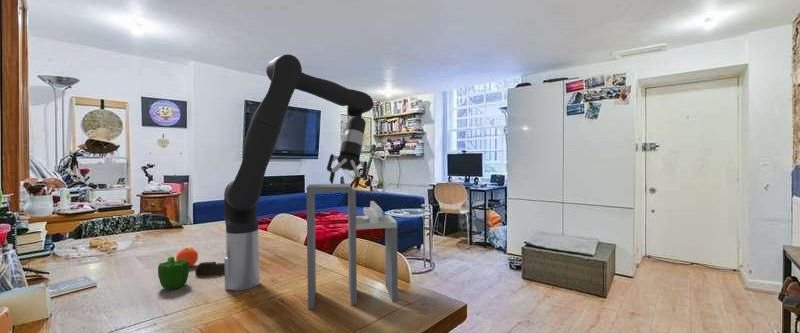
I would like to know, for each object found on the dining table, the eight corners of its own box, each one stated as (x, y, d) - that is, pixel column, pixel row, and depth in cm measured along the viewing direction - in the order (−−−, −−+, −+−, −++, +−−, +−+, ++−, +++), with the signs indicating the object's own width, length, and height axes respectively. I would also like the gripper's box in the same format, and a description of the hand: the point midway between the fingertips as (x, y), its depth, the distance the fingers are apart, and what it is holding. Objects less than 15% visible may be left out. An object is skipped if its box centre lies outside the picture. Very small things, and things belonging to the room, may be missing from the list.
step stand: (308, 309, 91) (306, 187, 90) (310, 292, 103) (309, 184, 102) (397, 301, 96) (396, 185, 95) (390, 285, 107) (389, 182, 107)
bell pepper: (173, 281, 112) (173, 251, 112) (195, 283, 111) (194, 252, 110) (150, 291, 104) (149, 258, 104) (173, 293, 102) (172, 259, 102)
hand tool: (256, 269, 125) (256, 256, 125) (255, 272, 121) (254, 259, 121) (198, 274, 120) (197, 261, 120) (194, 278, 116) (194, 264, 116)
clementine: (183, 263, 132) (183, 244, 132) (203, 262, 133) (202, 244, 132) (172, 270, 124) (171, 250, 124) (192, 269, 125) (192, 249, 124)
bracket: (369, 223, 94) (369, 210, 94) (363, 212, 113) (363, 201, 113) (382, 222, 94) (382, 209, 94) (373, 211, 114) (373, 201, 114)
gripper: (333, 136, 125) (323, 179, 121) (372, 145, 127) (363, 187, 123) (333, 142, 132) (324, 183, 128) (369, 150, 135) (361, 191, 130)
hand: (343, 185), depth 126 cm, fingers open, 8 cm apart
